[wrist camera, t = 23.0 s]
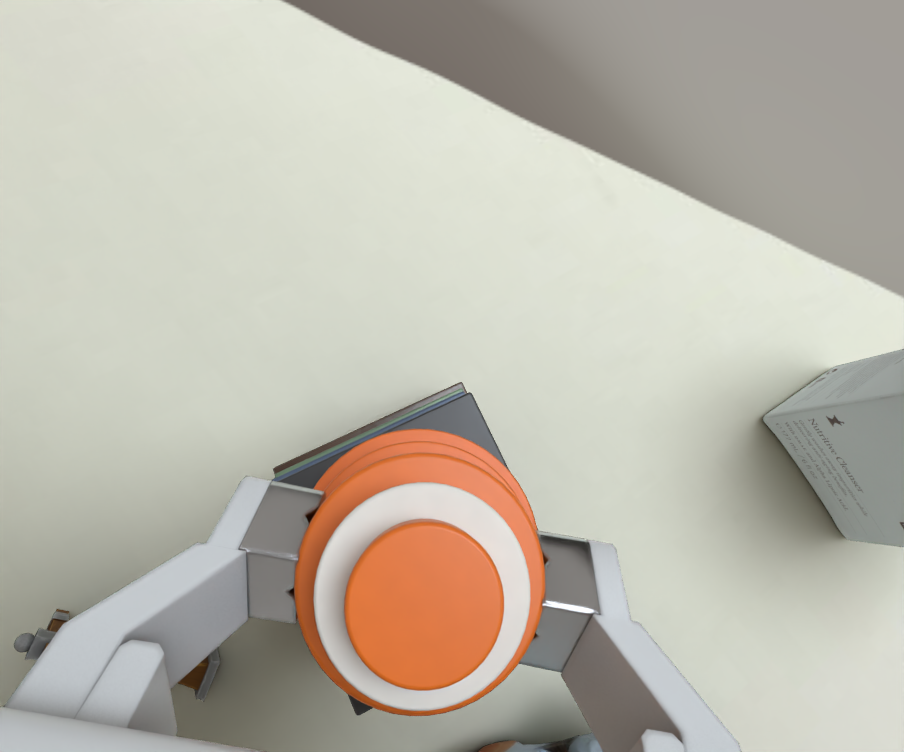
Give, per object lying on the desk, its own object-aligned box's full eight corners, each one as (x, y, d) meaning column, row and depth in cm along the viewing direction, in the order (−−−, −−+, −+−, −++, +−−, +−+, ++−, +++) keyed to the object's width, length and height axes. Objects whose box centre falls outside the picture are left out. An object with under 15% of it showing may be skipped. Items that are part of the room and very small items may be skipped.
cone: (267, 488, 15) (101, 488, 7) (468, 395, 16) (529, 298, 8) (359, 707, 14) (291, 998, 6) (565, 595, 15) (747, 720, 7)
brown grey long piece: (42, 591, 27) (20, 625, 23) (213, 627, 30) (220, 663, 26) (23, 631, 26) (-2, 672, 22) (198, 663, 30) (204, 704, 25)
